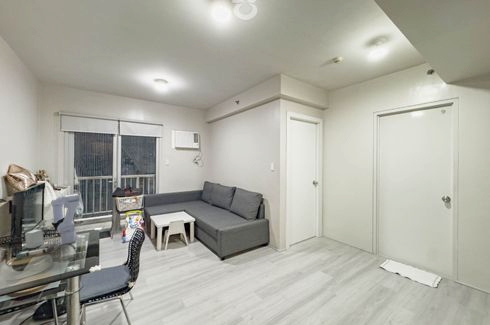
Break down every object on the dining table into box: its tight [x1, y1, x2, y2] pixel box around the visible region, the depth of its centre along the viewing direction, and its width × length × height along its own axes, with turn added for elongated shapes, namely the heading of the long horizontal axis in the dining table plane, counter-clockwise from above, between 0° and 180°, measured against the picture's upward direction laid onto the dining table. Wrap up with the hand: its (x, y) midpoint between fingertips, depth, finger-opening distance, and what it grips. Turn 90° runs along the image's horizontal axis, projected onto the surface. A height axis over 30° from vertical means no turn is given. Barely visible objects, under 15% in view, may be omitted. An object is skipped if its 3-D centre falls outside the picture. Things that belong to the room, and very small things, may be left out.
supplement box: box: [24, 229, 45, 249], centre depth 164 cm, size 7×7×13 cm
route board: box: [13, 246, 59, 261], centre depth 149 cm, size 21×9×4 cm, turn 114°
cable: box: [20, 245, 55, 256], centre depth 149 cm, size 18×3×3 cm, turn 114°
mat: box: [31, 244, 64, 251], centre depth 157 cm, size 22×6×1 cm, turn 114°
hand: (58, 228), depth 175 cm, fingers open, 7 cm apart
